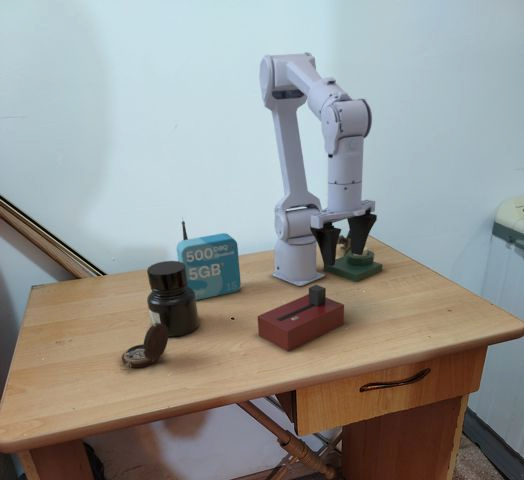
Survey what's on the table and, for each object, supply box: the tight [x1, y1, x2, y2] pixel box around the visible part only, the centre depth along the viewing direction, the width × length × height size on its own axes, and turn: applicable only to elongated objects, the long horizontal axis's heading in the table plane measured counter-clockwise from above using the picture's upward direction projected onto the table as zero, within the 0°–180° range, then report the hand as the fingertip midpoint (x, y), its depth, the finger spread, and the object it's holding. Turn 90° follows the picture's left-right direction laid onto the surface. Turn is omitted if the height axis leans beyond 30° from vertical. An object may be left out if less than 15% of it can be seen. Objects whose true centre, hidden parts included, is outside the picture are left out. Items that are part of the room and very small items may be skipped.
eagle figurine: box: [337, 229, 351, 256], centre depth 119 cm, size 8×7×9 cm
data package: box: [176, 232, 242, 301], centre depth 100 cm, size 12×4×12 cm, turn 112°
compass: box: [119, 323, 169, 371], centre depth 78 cm, size 8×8×7 cm
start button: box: [353, 246, 369, 257], centre depth 109 cm, size 3×3×2 cm
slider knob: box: [308, 284, 327, 306], centre depth 86 cm, size 2×2×3 cm
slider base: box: [257, 293, 345, 352], centre depth 85 cm, size 8×14×4 cm, turn 130°
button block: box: [323, 249, 383, 283], centre depth 109 cm, size 10×10×4 cm
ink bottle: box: [146, 260, 200, 337], centre depth 87 cm, size 10×9×12 cm
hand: (343, 259), depth 86 cm, fingers open, 7 cm apart
